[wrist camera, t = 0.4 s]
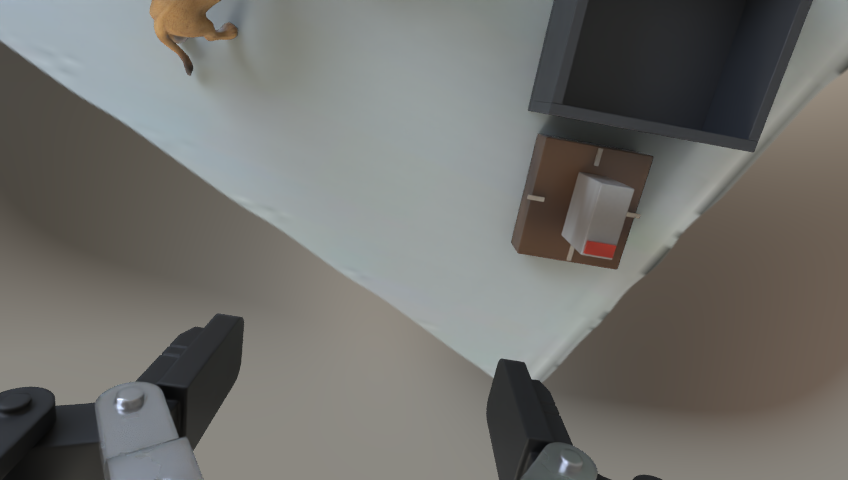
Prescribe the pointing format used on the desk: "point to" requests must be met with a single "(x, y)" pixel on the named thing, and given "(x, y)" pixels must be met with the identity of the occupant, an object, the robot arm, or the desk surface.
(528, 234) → the panel
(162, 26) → the lion figurine
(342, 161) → the desk surface
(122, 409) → the robot arm
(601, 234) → the tap knob
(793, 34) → the gray open box
